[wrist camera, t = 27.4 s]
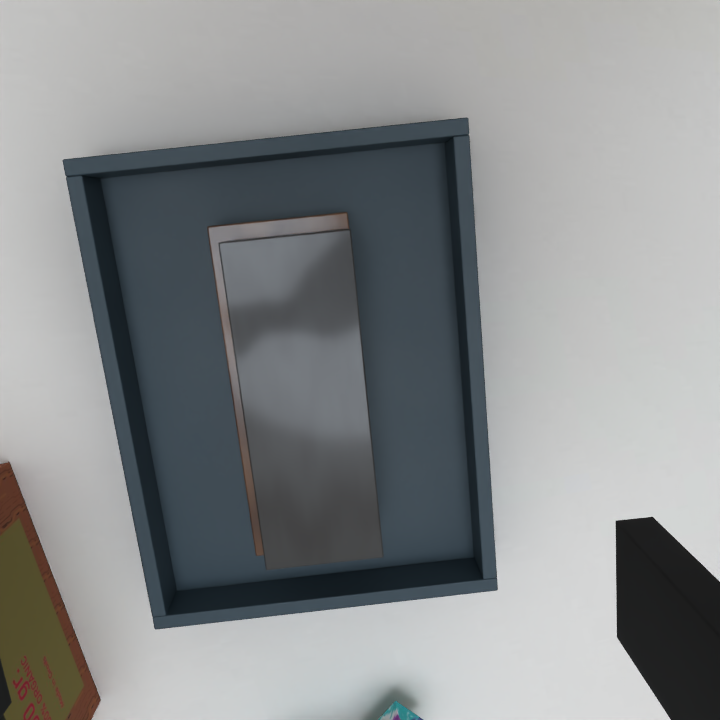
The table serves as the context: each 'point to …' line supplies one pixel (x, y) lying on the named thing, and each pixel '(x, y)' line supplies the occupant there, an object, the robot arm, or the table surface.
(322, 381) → the two-tone stacked slabs
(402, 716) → the mug
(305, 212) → the tray
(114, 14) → the table surface
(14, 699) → the box
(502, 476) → the table surface
